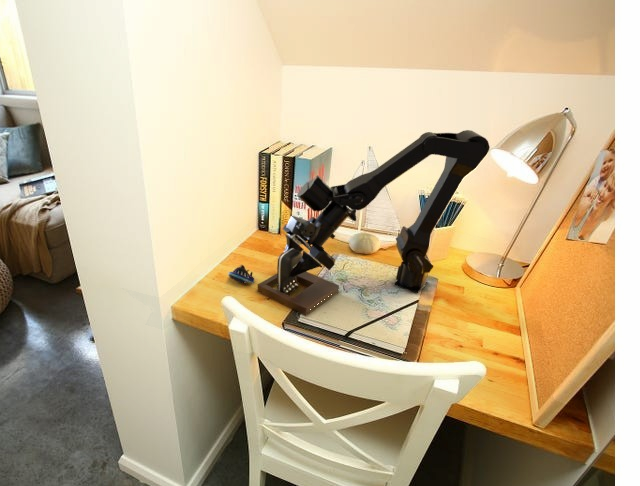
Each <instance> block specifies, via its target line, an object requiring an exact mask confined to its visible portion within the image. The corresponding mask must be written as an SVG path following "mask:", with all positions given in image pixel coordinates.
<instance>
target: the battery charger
mask: <svg viewBox="0 0 640 486" xmlns="http://www.w3.org/2000/svg"><path fill="white" fill-rule="evenodd" d="M302 255H303V252H302V251H301V252H300V251H298V250H295V249H293V248H290V249H288V250H286V251H285V252H284V251H283V252H282V253H280V255H278V258H277V265H276V266H277V267H276V274H277V285H276V290H278V291H280V292H282V293H284V294H286V295H288V296H290V295H291V294H292V293H293V292H294V291H295V290H297V289H298V288H299V283H298V282H297V279H296V276H294V277H291V276H290V273H291V271H292V270H293V269H294V267H295V266H296V265H297V264H298V262H299V261H300V260H301V259H302Z"/></svg>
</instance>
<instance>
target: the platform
mask: <svg viewBox="0 0 640 486" xmlns="http://www.w3.org/2000/svg"><path fill="white" fill-rule="evenodd" d="M296 279H297V282H298V285H301V286H303V287H306V288H304V289H303V290H301V291H300V292H299V293H297V294H295V295H294V296H291V295H286V294H284V293H282V292H280V291H278V290H277V288H274V287H275V286H277V273H275V274H273V275H271V276H270V277H268V278H266V279H265V280H263V281H261V282H259V283H257V292H258V293H259V294H261V295H264V296H266V297H267V298H270V299H272V300H274V301H276V302H278V303H280V304H282V305H284V306H286V307H287V308H290V309H291V310H293V311H295V312H298V313H299V314H302V315H303V316H305V317H307V316H308V315H309V314H311V313H313V311H315V310H316V309H317V308H319V307H320V306H322V305H323V304H324V303H326V302H327V301H328V300H330V299H332V298H333V297H335V296H336V295H337V294H338V293H339V292H340V291H339V290H340V285H339V284H337V283H334V282H332V281H329V280H327V279H325V278H323V277H320V276H318V275H316V274H314V273H310V272H308V271H306V272H304V273H301V274H299V275H297V276H296ZM338 289H339V290H338ZM331 294H332V295H331ZM328 296H329V297H328ZM324 299H325V300H324ZM321 301H322V302H321ZM318 303H319V304H318ZM317 304H318V305H317ZM314 306H315V307H314ZM310 309H311V310H310Z"/></svg>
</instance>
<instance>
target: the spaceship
mask: <svg viewBox="0 0 640 486" xmlns="http://www.w3.org/2000/svg"><path fill="white" fill-rule="evenodd" d="M249 272H250V273H249ZM227 274H228V276H229V277H230V278H231V279H232V280H233V281H236V282H237V283H239V284H243V285H244V284H245V283H247V284H250V283H253V284H254V283H255V277H254V276H253V272H252V271H250V269H246V267H245V265H243V264H240V266H238V267H235V268H234V270H233V271H229V272H228V273H227ZM248 282H249V283H248Z"/></svg>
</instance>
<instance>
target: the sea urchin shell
mask: <svg viewBox="0 0 640 486" xmlns="http://www.w3.org/2000/svg"><path fill="white" fill-rule="evenodd" d="M348 245H349V247H350V249H351V250H352V251H353V252H354V253H357V254H365V255H370V254H374V253H377V252H378V251H379V249H380V247H381V240H380V238H379V237H378V236H376V235H375V234H372V233H369V232H357V233H354V234H352V236H350V238H349V239H348Z"/></svg>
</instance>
